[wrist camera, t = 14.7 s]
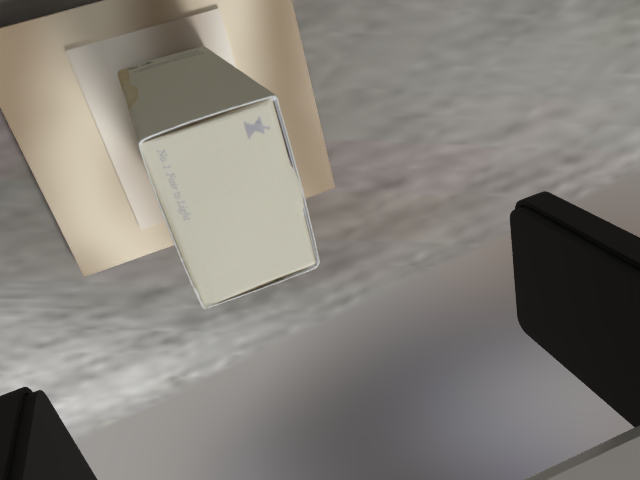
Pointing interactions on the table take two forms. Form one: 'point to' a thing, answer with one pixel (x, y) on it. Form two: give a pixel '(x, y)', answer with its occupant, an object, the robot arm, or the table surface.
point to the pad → (113, 114)
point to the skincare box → (220, 173)
